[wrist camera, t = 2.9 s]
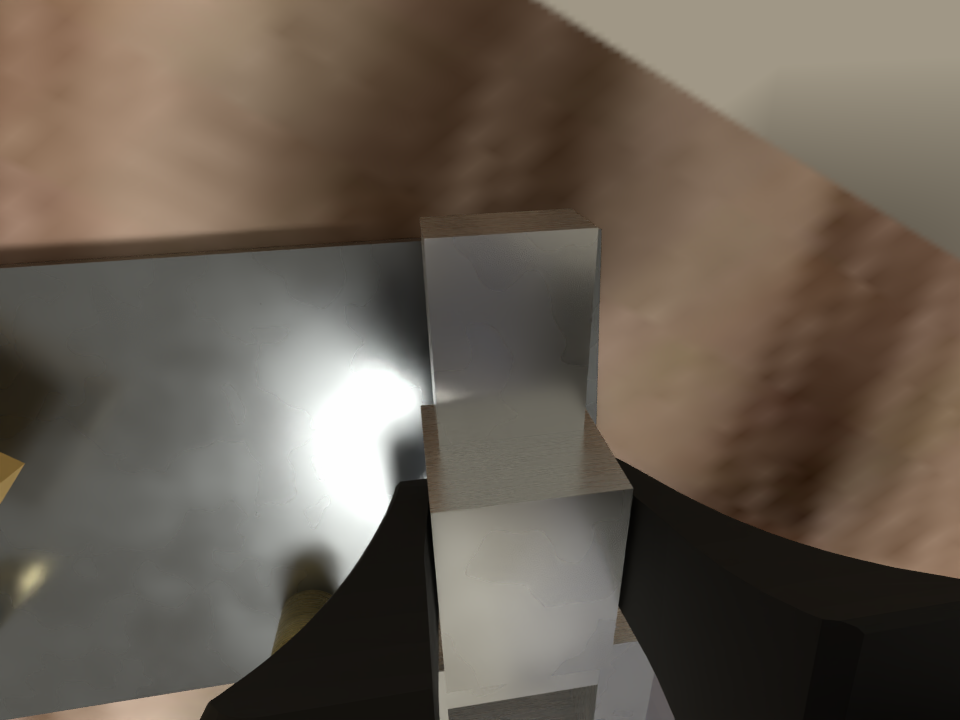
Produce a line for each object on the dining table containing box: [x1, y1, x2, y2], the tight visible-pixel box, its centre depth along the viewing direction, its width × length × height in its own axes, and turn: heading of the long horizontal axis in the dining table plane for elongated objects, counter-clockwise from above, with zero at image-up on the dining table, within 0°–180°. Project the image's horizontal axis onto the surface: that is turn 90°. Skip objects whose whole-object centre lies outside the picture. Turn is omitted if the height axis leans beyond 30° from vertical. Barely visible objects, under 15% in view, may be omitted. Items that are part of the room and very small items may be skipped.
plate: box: [0, 228, 602, 720], centre depth 17 cm, size 15×23×1 cm, turn 92°
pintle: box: [271, 590, 332, 656], centre depth 17 cm, size 2×2×4 cm
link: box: [420, 209, 654, 720], centre depth 13 cm, size 15×6×4 cm, turn 2°
